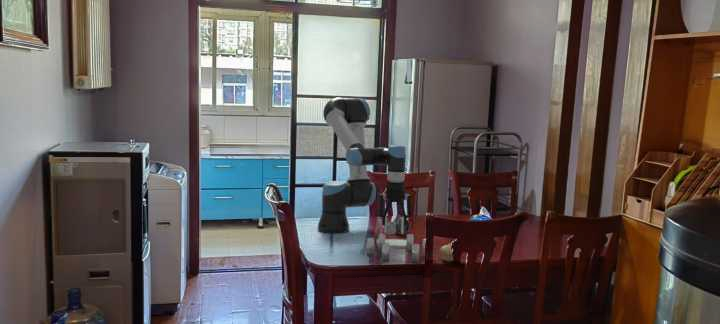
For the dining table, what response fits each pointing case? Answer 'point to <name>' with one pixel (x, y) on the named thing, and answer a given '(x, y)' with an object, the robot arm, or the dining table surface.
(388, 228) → the lighter
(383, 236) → the spacer posts
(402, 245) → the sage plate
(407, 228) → the ceramic mug
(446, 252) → the onion
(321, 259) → the dining table surface
